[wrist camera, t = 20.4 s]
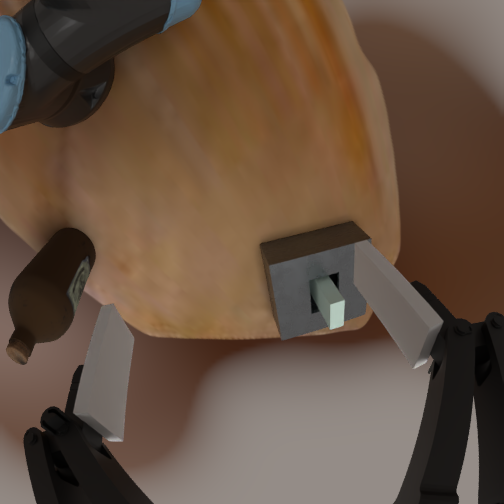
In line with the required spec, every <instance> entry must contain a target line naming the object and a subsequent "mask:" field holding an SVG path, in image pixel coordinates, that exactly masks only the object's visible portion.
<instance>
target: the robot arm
mask: <svg viewBox="0 0 504 504" xmlns="http://www.w3.org/2000/svg"><path fill="white" fill-rule="evenodd" d="M201 1H202V0H31V1H30V2H29V3H28V4H26V5H25V6H24V7H23V8H22V9H21V10H19V11H18V12H17V13H16V14H15V15H14V16H13V17H11V16H7V15H4V16H0V134H1V133H3V132H4V131H7V130H10V129H13V128H17V127H20V126H24V125H27V124H31V123H35V122H40V123H42V124H44V125H46V126H49V127H55V128H62V127H67V126H71V125H75V124H78V123H80V122H82V121H84V120H86V119H87V118H89V117H90V116H91V115H92V114H93V113H95V112H96V111H97V110H98V108H99V107H100V106H101V105H102V103H103V102H104V100H105V99H106V97H107V95H108V93H109V91H110V89H111V86H112V82H113V78H114V60H113V57H114V56H116V55H117V54H119V53H121V52H123V51H124V50H126V49H128V48H130V47H131V46H133V45H135V44H137V43H139V42H141V41H143V40H144V39H146V38H148V37H150V36H152V35H154V34H160V33H163V32H164V31H165V30H167V29H168V27H170V26H172V25H174V24H176V23H179V22H181V21H183V20H185V19H187V18H189V17H191V16H192V15H193V14H194V13H195V11H197V10H198V8H199V7H200V4H201ZM353 284H354V285H355V286H356V288H357V289H358V290H359V292H360V293H361V294H362V296H363V297H364V299H365V300H366V301H367V303H368V304H369V305H370V307H371V308H372V310H373V311H374V312H375V314H376V315H377V317H378V318H379V319H380V321H381V322H382V324H383V325H384V326H385V328H386V329H387V330H388V332H389V334H390V335H391V337H392V338H393V339H394V341H395V342H396V344H397V345H398V347H399V348H400V350H401V351H402V353H403V354H404V356H405V357H406V358H407V360H408V362H409V363H410V365H411V366H412V368H413V369H415V368H417V367H418V366H420V365H422V364H424V363H426V362H427V360H428V358H429V356H430V355H431V356H432V358H433V359H434V360H433V362H432V365H431V366H430V368H429V371H428V373H429V374H430V372H431V376H430V382H429V388H428V393H427V399H426V403H425V408H424V413H423V418H422V422H421V426H420V430H419V434H418V437H417V441H416V444H415V448H414V451H413V455H412V458H411V461H410V464H409V467H408V470H407V473H406V476H405V479H404V481H403V484H402V487H401V489H400V492H399V494H398V497H397V499H396V501H395V502H394V503H393V504H458V503H459V496H458V495H457V493H456V489H457V485H458V481H459V478H460V474H461V470H462V465H463V461H464V456H465V452H466V447H467V441H468V435H469V429H470V422H471V414H472V404H473V395H474V402H475V409H476V417H477V429H478V444H479V490H478V504H504V316H503V315H502V314H499V313H497V312H492V313H489V314H488V315H487V317H486V319H485V321H484V322H479V323H473V324H471V323H470V322H468V321H467V320H465V319H456V318H455V317H454V316H453V315H452V314H451V313H450V312H449V310H448V309H447V308H446V307H445V306H444V305H443V304H442V303H441V302H440V301H439V299H437V298H436V296H435V295H434V294H432V292H431V291H430V290H429V289H428V288H427V287H426V286H425V285H423V284H421V283H420V282H418V281H414V282H411V283H409V282H408V281H407V280H406V279H405V278H404V277H403V276H402V275H401V274H400V273H399V271H397V269H395V267H394V266H393V265H392V264H391V263H390V262H389V261H388V260H387V259H386V258H385V257H384V256H383V255H382V254H381V253H380V252H379V251H378V250H377V249H376V248H375V247H374V246H373V245H372V244H371V243H370V242H369V241H368V240H364V241H361V242H357V243H355V255H354V283H353ZM133 345H134V337H133V335H132V334H131V332H130V331H129V329H128V327H127V326H126V324H125V322H124V321H123V319H122V317H121V316H120V314H119V312H118V311H117V309H116V307H115V306H114V304H109V305H104V306H102V307H101V310H100V313H99V316H98V319H97V322H96V325H95V328H94V332H93V335H92V338H91V342H90V345H89V349H88V352H87V356H86V360H85V363H84V365H79V366H78V368H77V369H76V371H75V373H74V375H73V379H72V384H71V387H70V392H69V395H68V399H67V404H66V408H65V413H64V412H63V411H61V410H60V409H59V408H57V407H55V406H54V407H49V408H48V409H46V410H45V411H44V413H43V414H42V417H41V421H40V423H41V427H42V428H43V429H45V430H46V431H44V432H42V431H40V430H39V429H37V428H35V427H32V428H30V429H28V430H27V431H26V433H25V435H24V449H25V455H26V461H27V466H28V471H29V475H30V480H31V484H32V488H33V492H34V496H35V500H36V503H37V504H154V503H153V502H152V501H151V500H150V499H149V498H148V497H147V496H146V495H145V494H144V493H143V492H142V490H141V489H140V488H139V487H138V486H137V485H136V484H135V483H134V481H133V480H132V479H131V478H130V477H129V475H128V474H127V473H126V472H125V471H124V469H123V468H122V467H121V465H120V464H119V463H118V462H117V460H116V459H115V458H114V456H113V455H112V454H111V452H110V451H109V449H108V448H107V447H106V445H104V443H102V436H103V437H104V438H106V439H107V440H109V441H123V436H124V420H125V409H126V398H127V389H128V381H129V373H130V365H131V358H132V351H133Z"/></svg>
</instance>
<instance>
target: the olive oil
mask: <svg viewBox="0 0 504 504" xmlns="http://www.w3.org/2000/svg"><path fill="white" fill-rule="evenodd" d="M94 262H95V249H94V246H93V244H92V242H91V241H90V239H89V238H88V237H87V236H86V235H85V234H84V233H82V232H81V231H79V230H76V229H73V228H65V229H62V230H60V231H58V232H57V233H56V234H55V235H54V236H53V237H52V238H51V239H50V241H49V242H48V243H47V244H46V245H45V246H44V247H43V248H42V249H41V251H40V252H39V253H38V254H37V255H36V256H35V257H34V258H33V259H32V261H31V262H30V263H29V264H28V265H27V266H26V267H25V268H24V270H23V271H22V272H21V273H20V274H19V275H18V277H17V278H16V279H15V281H14V282H13V284H12V287H11V290H10V294H9V300H8V304H9V311H10V315H11V318H12V321H13V324H14V327H15V331H14V332H13V334H12V336H11V338H10V340H9V344H8V346H7V348H6V352H7V354H8V356H9V357H10V358H11V359H12V360H13V361H15V362H16V363H19V364H22V365H24V364H26V363H27V361H28V357H30V356H31V353H32V351H33V348H34V345H35V344H36V343H44V342H51V341H54V340H57V339H58V338H60V337H61V336H62V335H63V334H64V333H65V332H66V331H67V330H68V328H69V327H70V325H71V323H72V321H73V318H74V315H75V312H76V309H77V306H78V303H79V300H80V297H81V295H82V292H83V289H84V287H85V284H86V281H87V279H88V277H89V274H90V272H91V269H92V267H93V265H94Z"/></svg>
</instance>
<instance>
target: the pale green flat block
mask: <svg viewBox="0 0 504 504" xmlns="http://www.w3.org/2000/svg"><path fill="white" fill-rule="evenodd" d="M309 283H310V293H311V295H312V297H313V299H314V301H315V303H316V304H317V306H318V308H319V310H320V312H321V314H322V316H323V317H324V319H325V321H326V323H327V325H328V327H329V329H330V330H331V329H334V328H337V327H340V326H343V325H344V306H345V300H344V298H343V297H342V295H341V294H340V292H339V291H338V289H337V288H336V286H335V285H334V283H333V282H332V280H331V279H330V277H329V276H328V275H327V276H324V277H320V278H317V279H313V280H309Z"/></svg>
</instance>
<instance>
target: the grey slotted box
mask: <svg viewBox="0 0 504 504" xmlns="http://www.w3.org/2000/svg"><path fill="white" fill-rule="evenodd" d="M364 240H368V241H369V242H370V243H371V238H370V237H369V236H368V235H367V234H366V233H365V232H364V231H363V230H362V229H361V228H359V227H358V226H357V225H356V224H355V223H354V222H353V221H352V222H348V223H344V224H340V225H335V226H331V227H327V228H323V229H319V230H315V231H311V232H307V233H303V234H299V235H295V236H291V237H286V238H282V239H278V240H274V241H270V242H266V243H262V244H260V247H261V253H262V258H263V263H264V268H265V274H266V279H267V284H268V290H269V295H270V300H271V306H272V311H273V316H274V319H275V322H276V325H277V328H278V331H279V334H280V337H281V339H282V340H285V339H289V338H292V337H296V336H299V335H303V334H306V333H309V332H313V331H316V330H319V329H322V328H326V327H328V325H327V323H326V321H325V319H324V317H323V316H322V314H321V312H320V310H319V308H318V306H317V304H316V303H315V301H314V299H313V297H312V295H311V293H310V283H309V280H313V279H317V278H320V277H324V276H327V275H328V276H329V277H330V279H331V280H332V282H333V283H334V285H335V286H336V288H337V289H338V291H339V292H340V294H341V295H342V297H343V298H344V300H345V306H344V321H347V320H350V319H353V318H356V317H359V316H361V315H364V314H365V311H366V303H367V301H366V300H365V299H364V297H363V296H362V294H361V293H360V292H359V290H358V289H357V288H356V286H355V285H354V284H353V283H354V255H355V243H357V242H361V241H364Z"/></svg>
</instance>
